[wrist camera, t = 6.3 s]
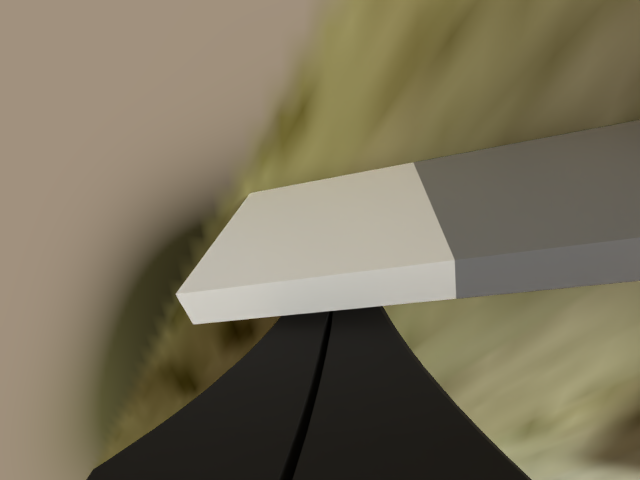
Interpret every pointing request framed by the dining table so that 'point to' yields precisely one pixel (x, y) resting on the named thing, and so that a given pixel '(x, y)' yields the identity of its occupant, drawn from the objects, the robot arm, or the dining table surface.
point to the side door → (432, 231)
